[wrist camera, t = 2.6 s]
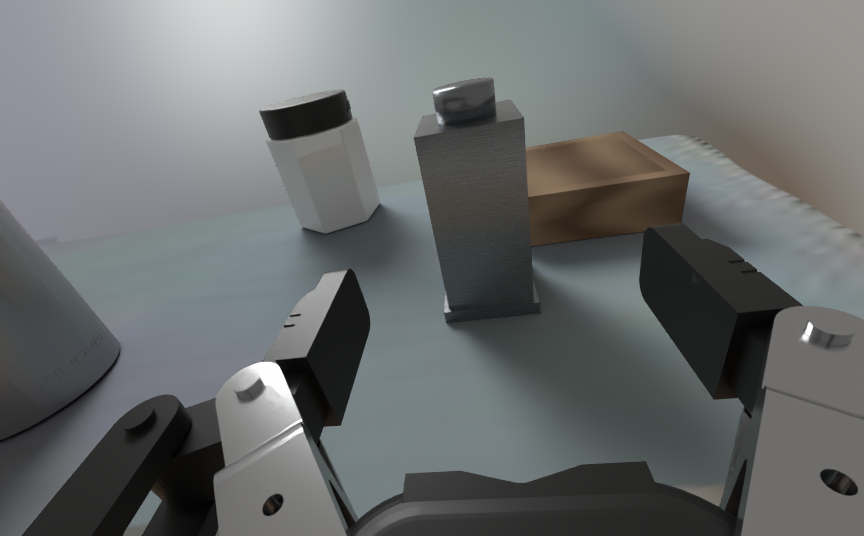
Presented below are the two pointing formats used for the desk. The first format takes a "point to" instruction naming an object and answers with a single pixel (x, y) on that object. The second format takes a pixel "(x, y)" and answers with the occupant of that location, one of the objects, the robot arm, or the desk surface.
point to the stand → (600, 188)
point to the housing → (478, 201)
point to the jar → (322, 160)
